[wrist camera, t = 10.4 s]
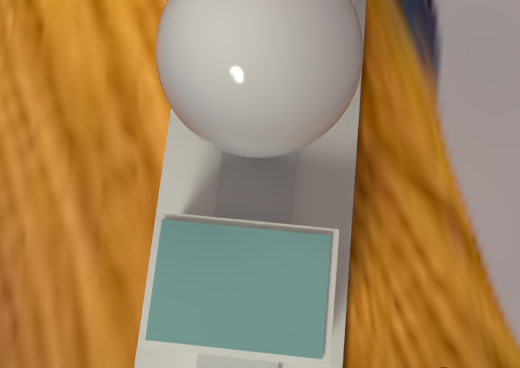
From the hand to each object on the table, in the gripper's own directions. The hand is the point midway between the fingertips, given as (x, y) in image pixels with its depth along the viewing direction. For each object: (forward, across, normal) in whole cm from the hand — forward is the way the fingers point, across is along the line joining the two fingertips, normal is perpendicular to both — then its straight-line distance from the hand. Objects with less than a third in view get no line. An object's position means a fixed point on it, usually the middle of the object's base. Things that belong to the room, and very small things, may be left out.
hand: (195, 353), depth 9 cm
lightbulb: (+15, 0, +3) cm, 15 cm away
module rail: (+15, 0, +4) cm, 16 cm away
